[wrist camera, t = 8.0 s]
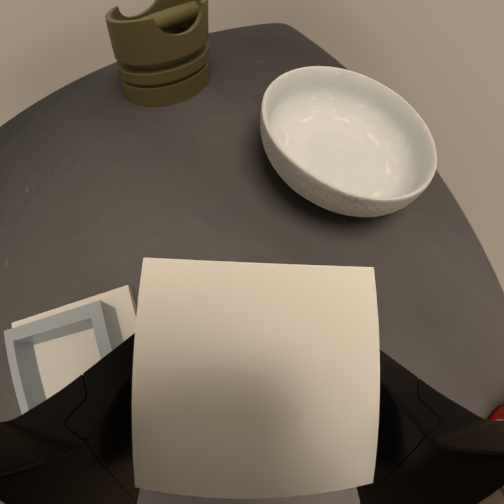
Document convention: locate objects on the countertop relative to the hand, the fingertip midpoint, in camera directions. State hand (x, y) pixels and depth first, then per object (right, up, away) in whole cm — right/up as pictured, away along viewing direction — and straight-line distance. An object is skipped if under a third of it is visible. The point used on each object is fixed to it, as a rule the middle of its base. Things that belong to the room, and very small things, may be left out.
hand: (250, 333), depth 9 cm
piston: (-11, +25, +23) cm, 36 cm away
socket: (-14, -8, +10) cm, 19 cm away
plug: (-1, -4, +6) cm, 7 cm away
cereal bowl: (+9, +11, +20) cm, 25 cm away
